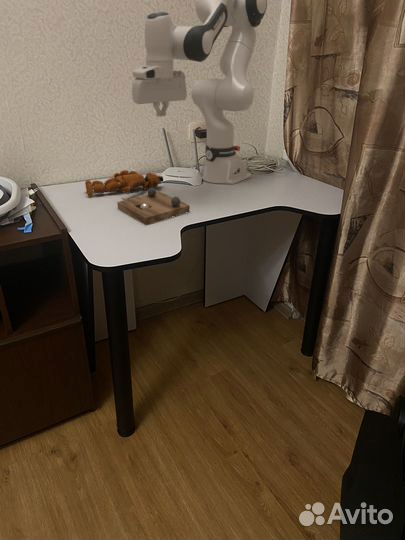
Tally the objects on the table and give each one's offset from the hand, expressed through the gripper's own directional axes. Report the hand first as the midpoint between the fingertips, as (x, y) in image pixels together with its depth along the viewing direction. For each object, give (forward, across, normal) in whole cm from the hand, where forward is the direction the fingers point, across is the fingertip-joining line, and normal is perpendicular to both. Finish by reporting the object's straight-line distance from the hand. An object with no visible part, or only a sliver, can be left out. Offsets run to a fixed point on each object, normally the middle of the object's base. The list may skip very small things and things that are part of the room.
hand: (161, 116), depth 136 cm
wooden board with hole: (+29, +11, +9) cm, 32 cm away
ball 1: (+25, +7, +2) cm, 26 cm away
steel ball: (+27, +14, +9) cm, 32 cm away
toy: (+30, +8, -15) cm, 34 cm away
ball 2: (+25, +6, +16) cm, 30 cm away
